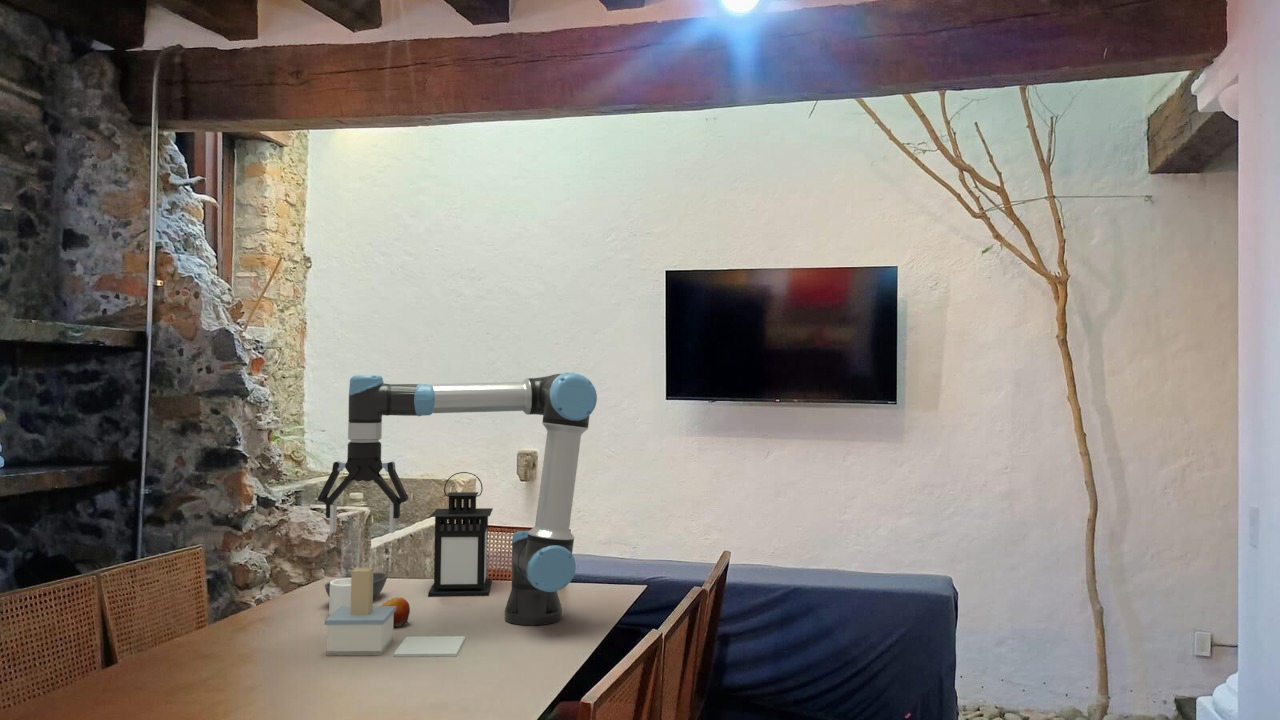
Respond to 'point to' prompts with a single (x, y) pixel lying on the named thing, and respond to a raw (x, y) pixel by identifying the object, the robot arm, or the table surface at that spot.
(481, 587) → the lantern
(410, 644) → the mat
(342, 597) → the mug
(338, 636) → the white open storage bin
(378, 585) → the bowl
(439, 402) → the robot arm
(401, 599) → the fruit
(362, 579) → the lid
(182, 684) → the table surface
